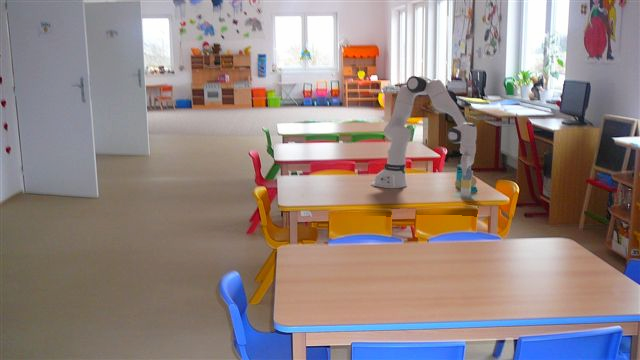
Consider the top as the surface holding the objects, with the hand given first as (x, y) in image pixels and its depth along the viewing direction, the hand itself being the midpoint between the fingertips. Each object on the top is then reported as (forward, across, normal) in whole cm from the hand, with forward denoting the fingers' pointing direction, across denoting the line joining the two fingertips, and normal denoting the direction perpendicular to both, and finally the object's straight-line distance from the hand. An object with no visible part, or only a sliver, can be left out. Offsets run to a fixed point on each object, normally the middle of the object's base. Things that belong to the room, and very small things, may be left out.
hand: (466, 173), depth 388 cm
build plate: (+14, 0, 0) cm, 14 cm away
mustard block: (+8, 0, 0) cm, 8 cm away
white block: (+13, 0, 0) cm, 13 cm away
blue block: (+3, 0, 0) cm, 3 cm away
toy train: (+14, +18, +3) cm, 23 cm away
